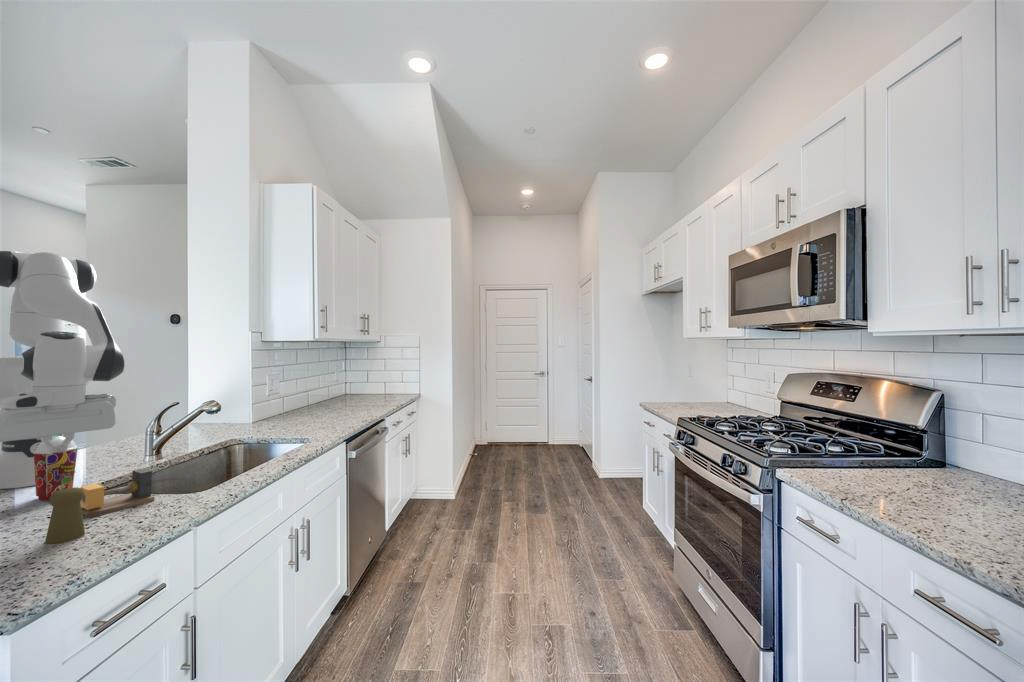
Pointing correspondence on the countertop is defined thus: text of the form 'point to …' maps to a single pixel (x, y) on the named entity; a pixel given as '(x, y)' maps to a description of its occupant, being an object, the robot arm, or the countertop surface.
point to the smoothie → (54, 468)
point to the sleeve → (93, 496)
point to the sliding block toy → (138, 496)
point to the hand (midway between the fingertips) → (57, 452)
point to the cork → (65, 516)
